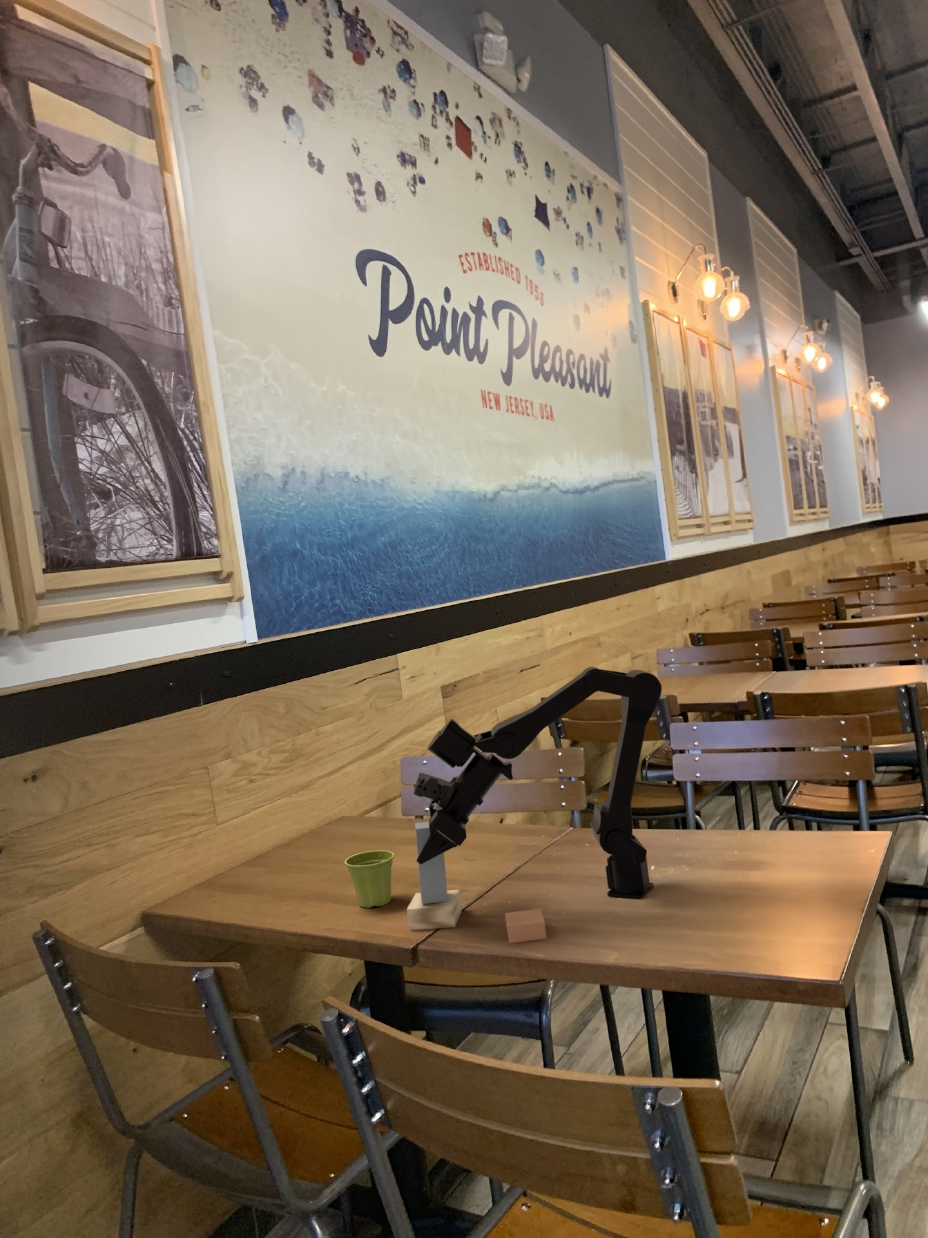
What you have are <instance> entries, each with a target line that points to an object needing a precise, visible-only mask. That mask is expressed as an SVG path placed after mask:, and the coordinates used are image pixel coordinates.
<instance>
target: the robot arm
mask: <svg viewBox="0 0 928 1238" xmlns="http://www.w3.org/2000/svg"><path fill="white" fill-rule="evenodd" d="M662 690H663V687H662V683H661V681H660V680H659V678H658V677H657V676H656V675H654V674H653V673H651V672H648V671H645V670H642V669H634V670H630V671H629V672H621V671H615V670H610V669H609V670H608V669H602V668H601V669H600V668H598V667H595V666H589V667H587V668H584V670H583V671H582V672H580V674H579V675H577V676H576V677H574V678H573V679H572V680H570V681H568V682H567V683H565V684H564V685H563V686H561V687H560V688H558V689H557V690H555V691H554V692H553V693H551V694H550V695H549V696H547V697H546V698H545V699H543V700H542V701H540V702H539V703H537V704H536V705H535V706H533V707H532V708H530V709H528V710H526V711H523V712H520V713H518V714H515V715H513V716H511V717H508V718H506V719H504V720H502V721H500V722H498V723H495V724H494V726H493V727H492V728H491V730H486V731H484V732H479V733H476V734H474V735H473V734H471V733H470V732H468V731H467V730H466V729H465V728H463V727H462V726H461V725H460V724H459V722H457V721H456V720H454V719H453V718H451V719H449V721H448V722H447V723H446V724H445V725H444V726H443V727H442V728H441V730H438V731H437V732H436V734H434V735H435V736H434V737H433V738H432V740H431V741H430V743H429V744H428V746H427V748H426V750H428V751H429V752H430V753H432V754H433V755H434V756H436V757H437V758H438V759H440V760H441V761H442V762H444V763H445V764H446V765H447V766H449V767H450V768H452V769H454V768H455V767H458V768H459V767H460V768H463V767H464V766H465V764H466V763H467V762H468V761H469V762H468V763H467V764H466V766H465V767H464V768H463V770H462V771H461V773H460V774H458V776H457V775H455V776H453V777H452V778H451V780H450V781H449V780H445V779H444V778H443V779H442V778H441V777H440V778H439V777H436V776H435V775H430V774H427V773H422V772H419V773H418V776H417V779H416V782H415V784H414V785H415V786H414V789H413V795H415V796H417V797H419V798H422V797H424V798H428V799H429V800H430V802H429V805H428V806H429V807H428V808H429V814H430V816H429V819H428V821H427V822H429V829H430V835H429V837H428V839H427V841H426V843H425V845H424V846H423V848H422V850H421V852H420V854H419V856H418V855H417V858H416V862H417V864H418V863H419V864H423V863H425V862H427V861H429V860H431V859H432V858H434V857H436V856H438V855H440V854H442V853H444V854H445V852H448V851H450V850H452V849H454V848H457V847H460V846H461V845H462V844H463V843H464V842H465V840H467V837H468V836H467V829H466V825H467V824H468V822H469V821H470V816H471V815H472V813H473V812H474V811H475V809H476V808H477V807H478V806H479V807H481V805H482V804H483V803H484V798H485V796H486V795H487V794H488V792H490V790H491V789H492V787H493V786H494V785H495V784H496V782H497V781H498V779H500V777H501V775H502V776H504V777H505V778H506V779H508V780H509V781H512V780H513V779H514V776H513V764H512V761H506V762H504V761H503V760H501V759H505V760H512V759H515V758H517V757H519V756H520V755H521V754H522V753H523V752H524V751H525V750H526V749H527V748H528V747H529V746H530V745H531V744H532V743H533V742H534V741H535V739H536V738H537V737H538V735H540V733H541V732H542V731H543V730H544V729H545V728H547V727H548V726H550V725H551V724H552V723H555V722H556V721H557V720H558V719H560V718H561V717H562V716H564V715H565V714H567V713H568V712H569V711H571V710H572V709H574V708H575V707H577V706H578V705H579V704H581V703H582V702H584V701H586V700H587V699H588V698H590V697H591V696H592V695H593V694H595V693H596V692H597V693H598V692H602V693H606V694H611V695H615V696H620V707H621V717H622V718H621V720H622V721H621V725H620V730H619V736H618V740H617V746H616V749H615V754H614V755H615V756H614V761H613V766H612V771H611V776H610V781H609V786H608V791H607V795H606V798H605V800H604V801H603V802H602V804H598V803H597V802H596V803H595V802H594V805H593V818H592V820H591V821H590V823H589V825H590V827H591V828H592V832H593V836H594V839H596V841H597V843H598V844H599V846H600V847H601V849H602V850H603V852H605V853H607V854H608V855H609V856H608V857H607V858H606V861H607V862H606V863H607V865H606V866H605V867H604V868H605V874H606V882H607V888H608V890H609V891H607V893H606V894H607V896H608V897H618V898H631V899H634V898H635V899H642V898H643V897H645V895H647V893H648V892H650V890H651V889H652V888H653V887H655V884H654V882H650V876H649V874H650V873H649V866H648V859H647V858H648V857H647V854H648V850H647V849H646V848H645V846H643V844H642V843H641V841H640V839H638V838H637V837H636V836H635V835H634V834H633V827H634V826H633V823H634V821H633V814H632V813H633V812H632V801H633V800H632V799H633V795H634V794H633V793H634V790H635V785H636V780H637V774H638V769H639V763H640V759H641V755H642V750H643V749H642V748H643V744H644V739H645V733H646V729H647V725H648V723H649V721H650V719H651V718H652V717H653V714H654V713H655V710H656V708H657V707H658V706H657V705H658V703H659V701H660V698H661V695H662ZM486 753H487V754H488V753H489V755H486ZM473 754H474V755H473ZM494 754H496V755H497V756H496V755H494ZM472 755H473V757H472ZM471 757H472V758H471ZM499 757H500V758H501V759H500V758H499ZM470 758H471V759H470ZM469 759H470V760H469Z"/></svg>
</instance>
